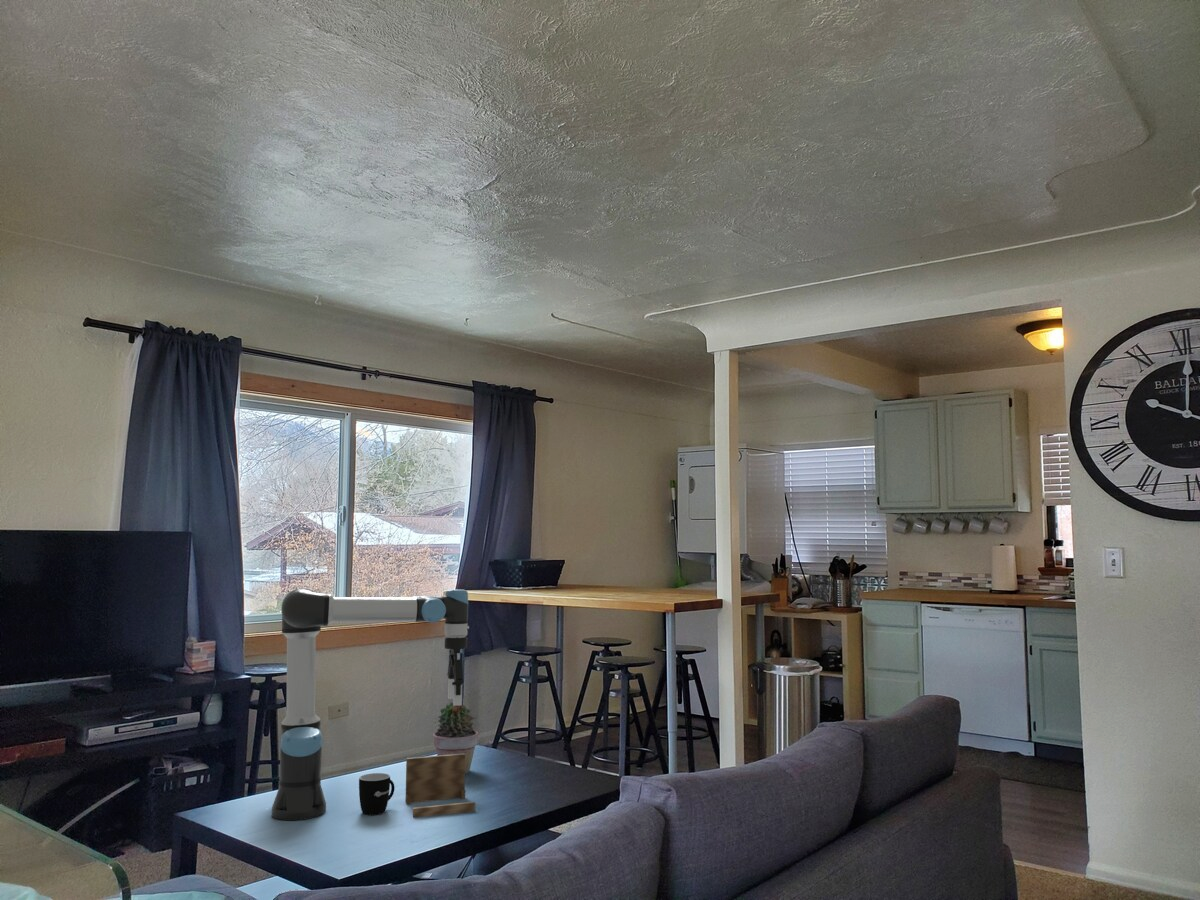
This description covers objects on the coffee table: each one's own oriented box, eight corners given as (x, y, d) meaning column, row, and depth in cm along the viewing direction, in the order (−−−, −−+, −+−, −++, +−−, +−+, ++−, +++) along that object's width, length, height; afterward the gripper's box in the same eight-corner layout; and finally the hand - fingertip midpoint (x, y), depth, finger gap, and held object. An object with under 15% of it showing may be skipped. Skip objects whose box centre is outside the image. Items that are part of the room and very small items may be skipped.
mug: (371, 818, 251) (372, 782, 252) (351, 813, 256) (352, 777, 257) (403, 808, 260) (404, 773, 262) (383, 803, 266) (384, 769, 267)
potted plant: (461, 762, 318) (463, 692, 321) (490, 772, 303) (491, 699, 306) (417, 770, 306) (418, 697, 309) (445, 781, 292) (446, 704, 294)
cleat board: (413, 817, 252) (414, 770, 253) (405, 801, 268) (406, 758, 269) (474, 811, 258) (475, 765, 259) (463, 796, 274) (464, 753, 275)
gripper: (473, 639, 279) (471, 707, 277) (462, 633, 303) (460, 695, 300) (449, 640, 277) (447, 708, 275) (440, 633, 301) (438, 696, 298)
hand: (454, 702), depth 287 cm, fingers open, 13 cm apart
